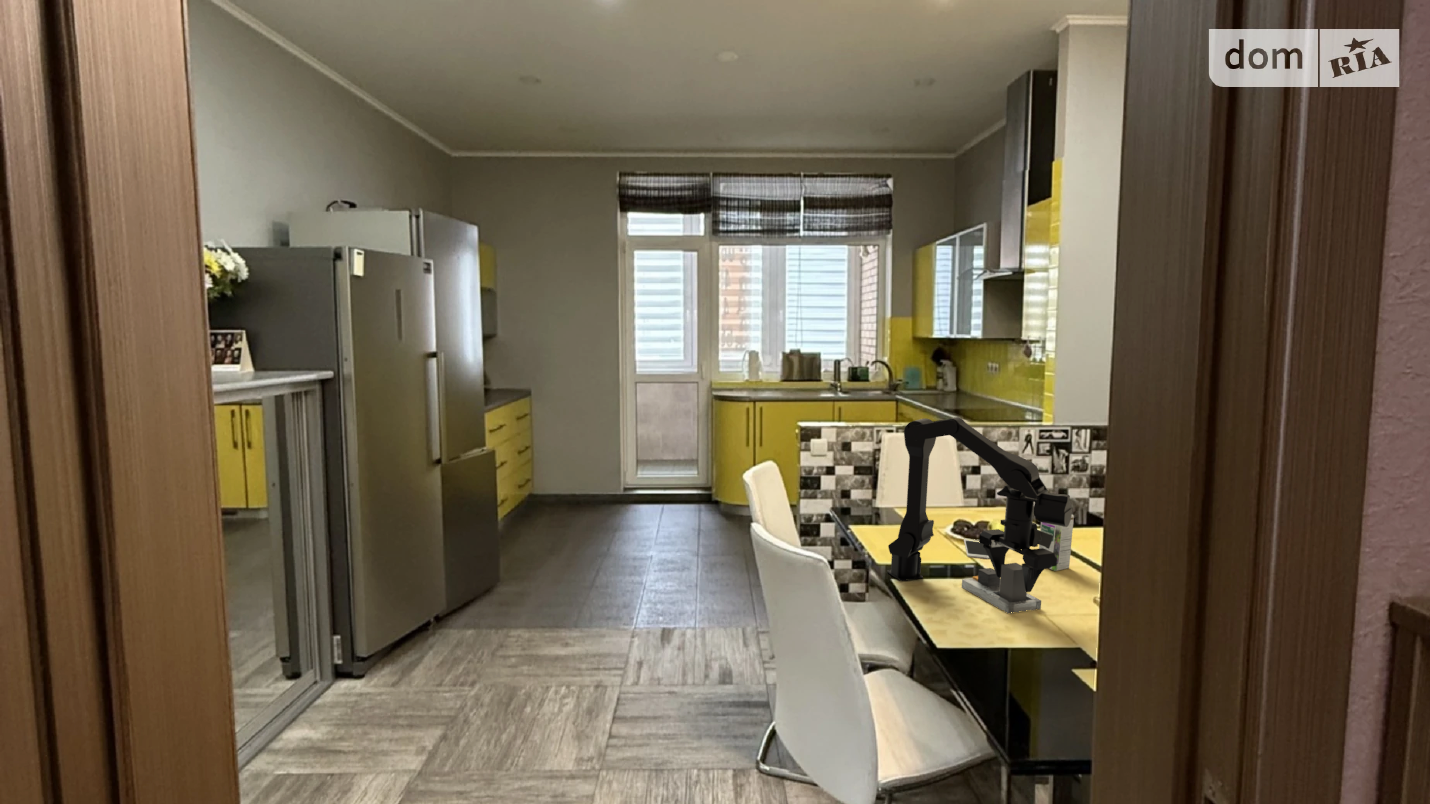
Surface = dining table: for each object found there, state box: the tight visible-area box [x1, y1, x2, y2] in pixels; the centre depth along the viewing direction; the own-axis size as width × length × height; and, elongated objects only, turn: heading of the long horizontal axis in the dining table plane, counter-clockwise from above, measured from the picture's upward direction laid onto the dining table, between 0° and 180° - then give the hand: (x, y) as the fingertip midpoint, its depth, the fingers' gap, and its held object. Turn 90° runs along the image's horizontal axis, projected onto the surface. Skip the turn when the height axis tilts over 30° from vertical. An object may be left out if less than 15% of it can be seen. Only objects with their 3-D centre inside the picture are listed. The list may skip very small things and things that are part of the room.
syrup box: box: [1038, 514, 1075, 572], centre depth 192 cm, size 6×6×14 cm
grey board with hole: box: [961, 567, 1042, 614], centre depth 170 cm, size 9×16×5 cm, turn 19°
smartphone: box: [963, 538, 990, 560], centre depth 205 cm, size 7×15×1 cm, turn 165°
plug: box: [999, 562, 1028, 603], centre depth 166 cm, size 4×4×9 cm
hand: (1013, 584), depth 166 cm, fingers open, 9 cm apart
